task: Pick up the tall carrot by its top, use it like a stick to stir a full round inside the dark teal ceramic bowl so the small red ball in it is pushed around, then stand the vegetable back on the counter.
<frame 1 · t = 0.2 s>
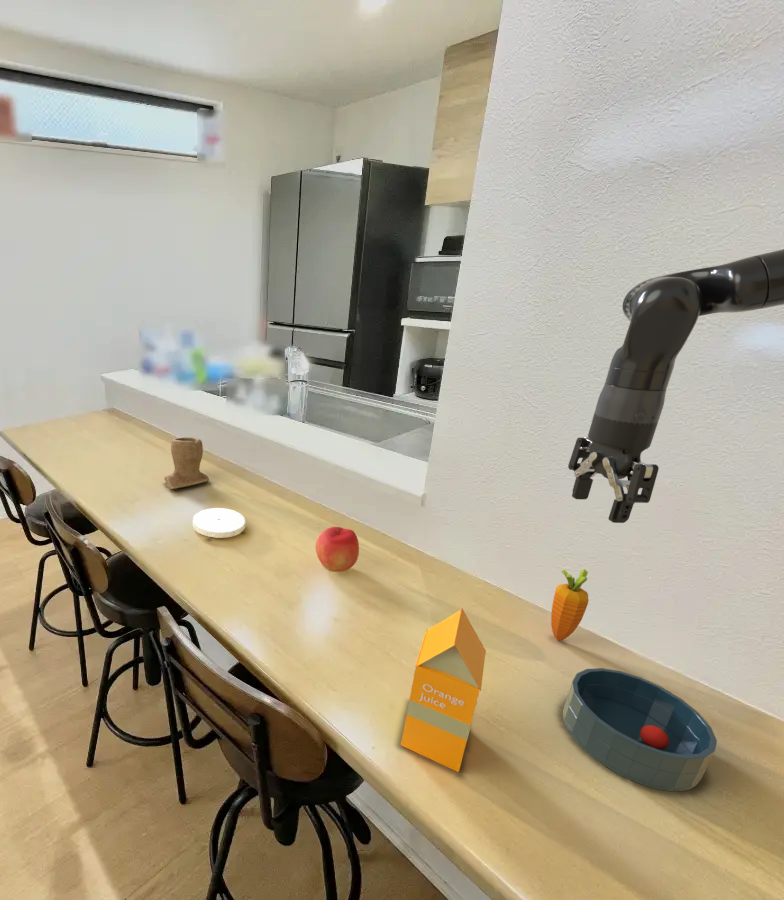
hand: (596, 509, 81), 27 cm above the breakfast bar, tool pointing down, fingers open, 8 cm apart
ball: (654, 737, 70), point 2 cm above the breakfast bar, touching bowl
stone cup: (184, 483, 161), on the breakfast bar
carrot: (557, 641, 91), on the breakfast bar
plastic lid: (218, 528, 132), on the breakfast bar
apple: (334, 569, 114), on the breakfast bar
orange juice: (433, 736, 73), on the breakfast bar
bowl: (627, 740, 72), on the breakfast bar
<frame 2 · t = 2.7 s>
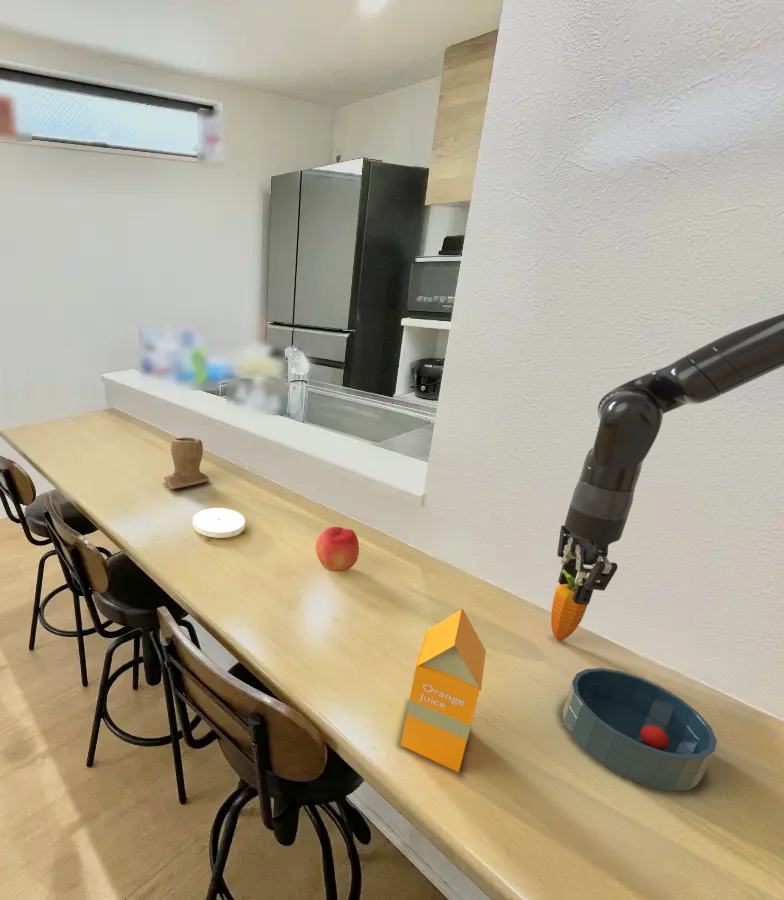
hand: (572, 593, 88), 10 cm above the breakfast bar, tool pointing down, fingers closed on carrot, 5 cm apart
carrot: (557, 641, 91), on the breakfast bar, touching gripper
everything else where it was.
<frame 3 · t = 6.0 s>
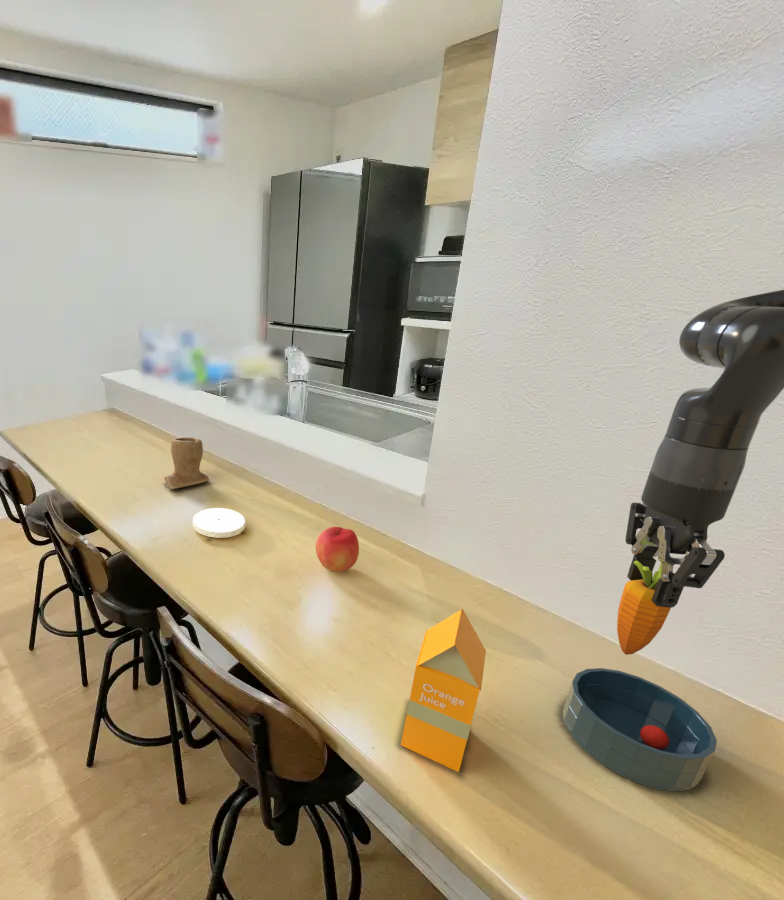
hand: (649, 592, 66), 24 cm above the breakfast bar, tool pointing down, fingers closed on carrot, 5 cm apart
carrot: (625, 655, 69), point 13 cm above the breakfast bar, touching gripper
everything else where it was.
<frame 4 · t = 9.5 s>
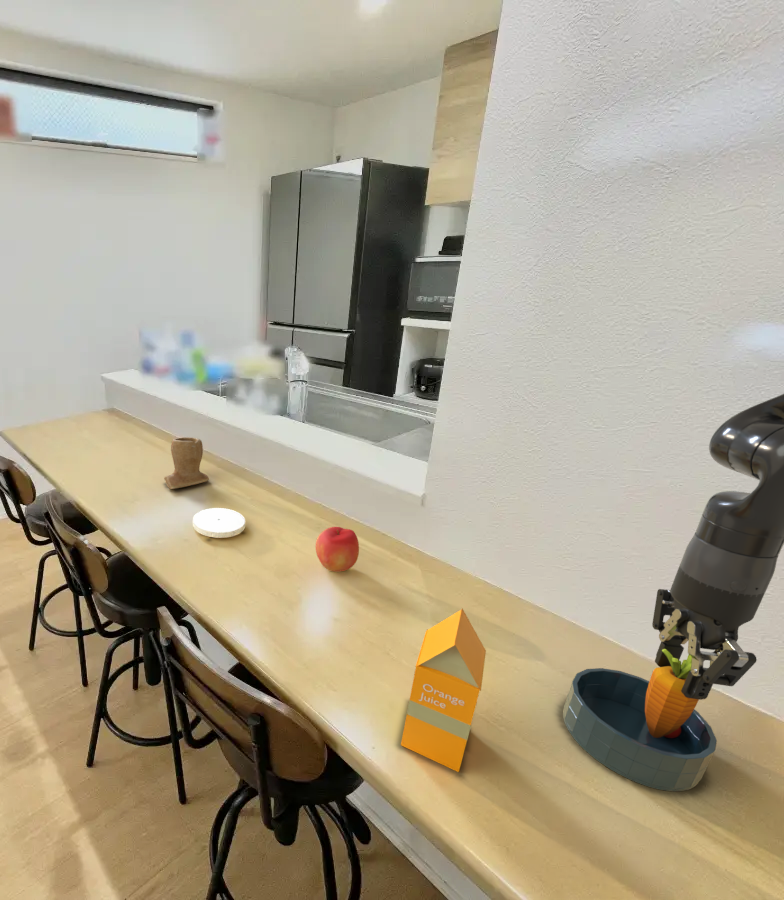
hand: (677, 680, 67), 12 cm above the breakfast bar, tool pointing down, fingers closed on carrot, 5 cm apart
ball: (666, 726, 72), point 2 cm above the breakfast bar, tilted 140°, touching bowl
carrot: (653, 737, 71), point 1 cm above the breakfast bar, touching gripper
everything else where it was.
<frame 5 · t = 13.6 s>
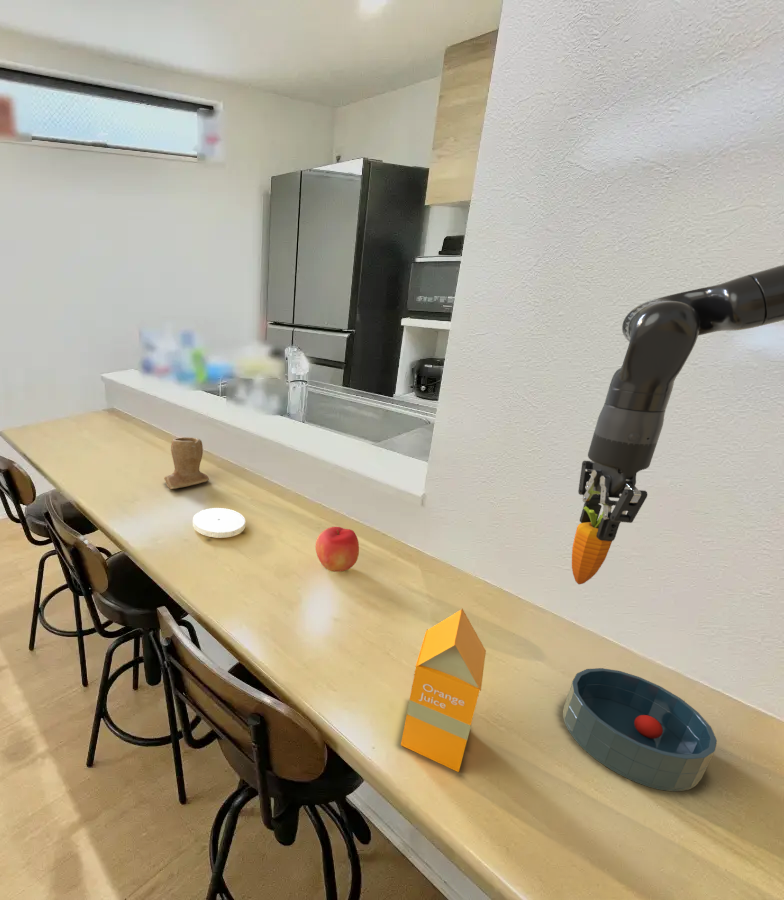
hand: (595, 531, 82), 24 cm above the breakfast bar, tool pointing down, fingers closed on carrot, 5 cm apart
ball: (648, 726, 71), point 2 cm above the breakfast bar, tilted 35°, touching bowl
carrot: (578, 584, 86), point 13 cm above the breakfast bar, touching gripper
everything else where it was.
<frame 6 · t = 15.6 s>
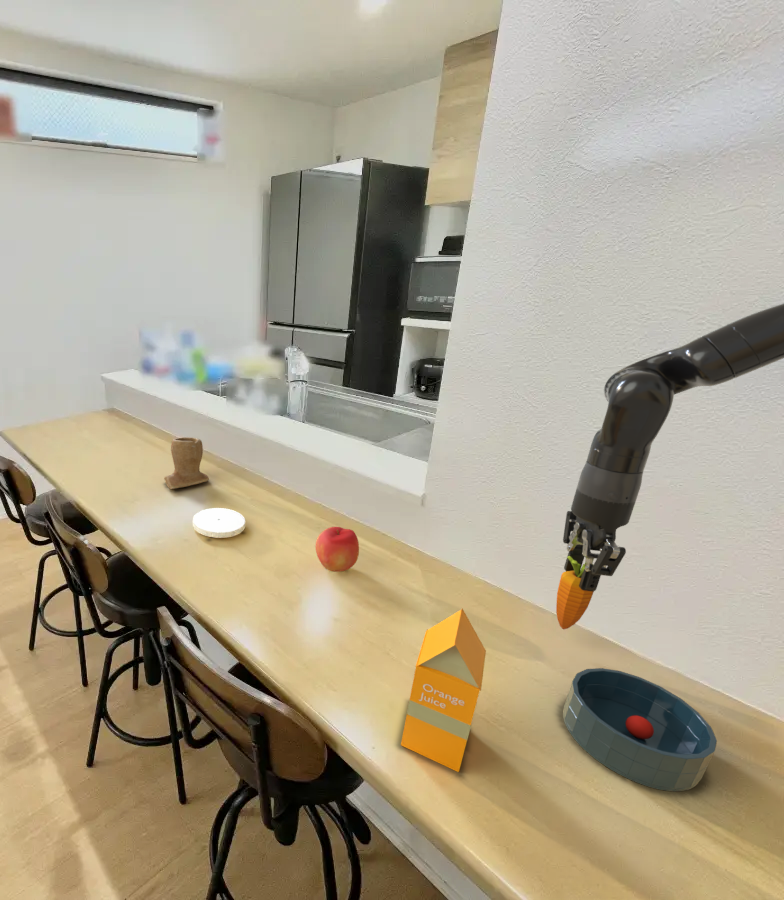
hand: (578, 579, 86), 14 cm above the breakfast bar, tool pointing down, fingers closed on carrot, 5 cm apart
ball: (639, 727, 71), point 2 cm above the breakfast bar, tilted 17°, touching bowl
carrot: (562, 629, 89), point 3 cm above the breakfast bar, touching gripper
everything else where it was.
when the fingers open (10 cm above the breakfast bar, at t = 17.0 s): carrot stays where it is, on the breakfast bar.
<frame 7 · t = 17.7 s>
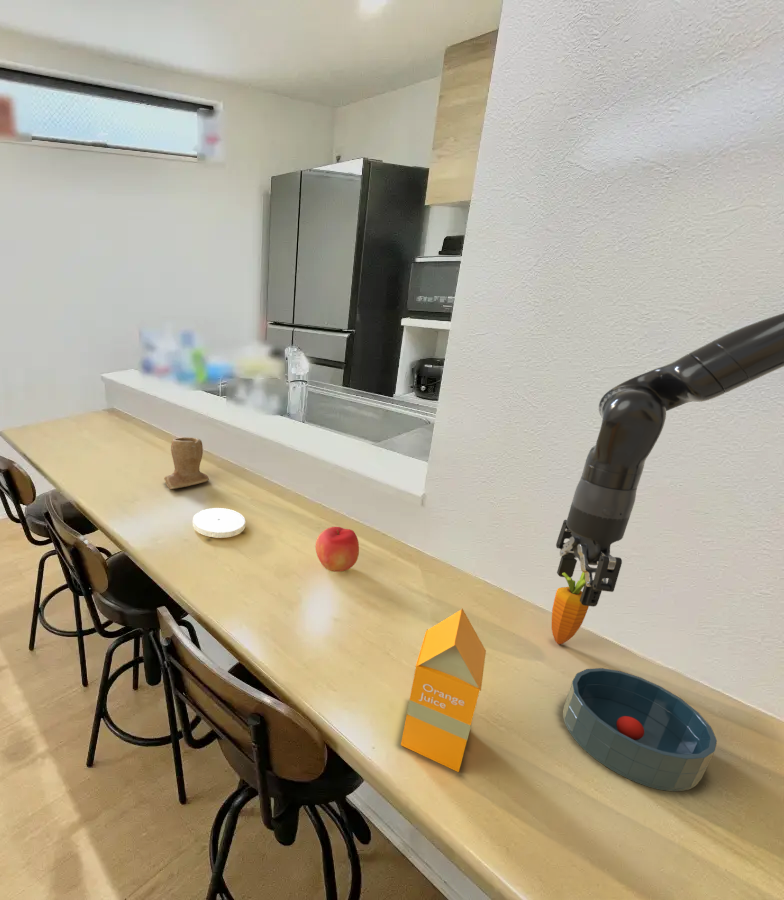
hand: (575, 589, 86), 12 cm above the breakfast bar, tool pointing down, fingers open, 8 cm apart
ball: (630, 727, 71), point 2 cm above the breakfast bar, tilted 72°, touching bowl
carrot: (558, 644, 90), on the breakfast bar
everything else where it was.
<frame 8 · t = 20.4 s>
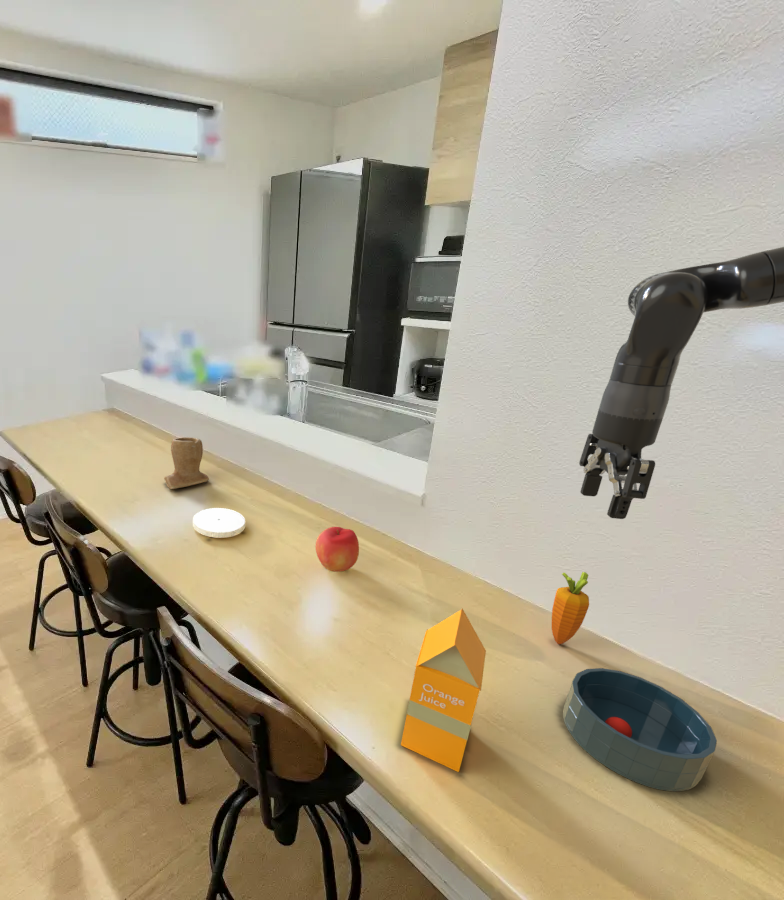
hand: (601, 505, 81), 28 cm above the breakfast bar, tool pointing down, fingers open, 8 cm apart
ball: (618, 728, 71), point 2 cm above the breakfast bar, tilted 143°, touching bowl
everything else where it was.
at the end: ball moved 4.2 cm from its start; ball inside the target area in the bowl (1.8 cm from its centre), point 2.1 cm above the bowl's base; carrot inside the target area (0.1 cm from its centre), on the breakfast bar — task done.
